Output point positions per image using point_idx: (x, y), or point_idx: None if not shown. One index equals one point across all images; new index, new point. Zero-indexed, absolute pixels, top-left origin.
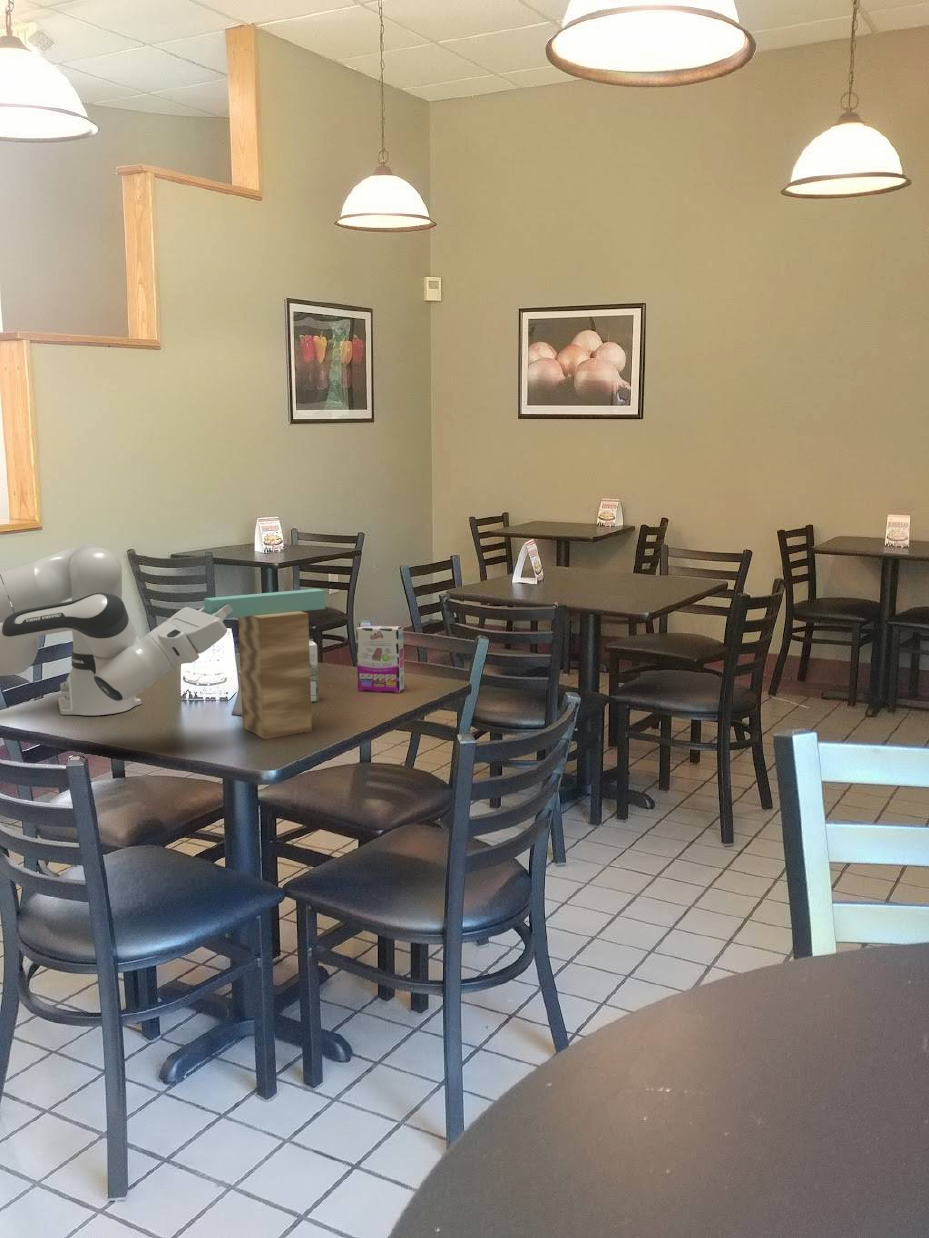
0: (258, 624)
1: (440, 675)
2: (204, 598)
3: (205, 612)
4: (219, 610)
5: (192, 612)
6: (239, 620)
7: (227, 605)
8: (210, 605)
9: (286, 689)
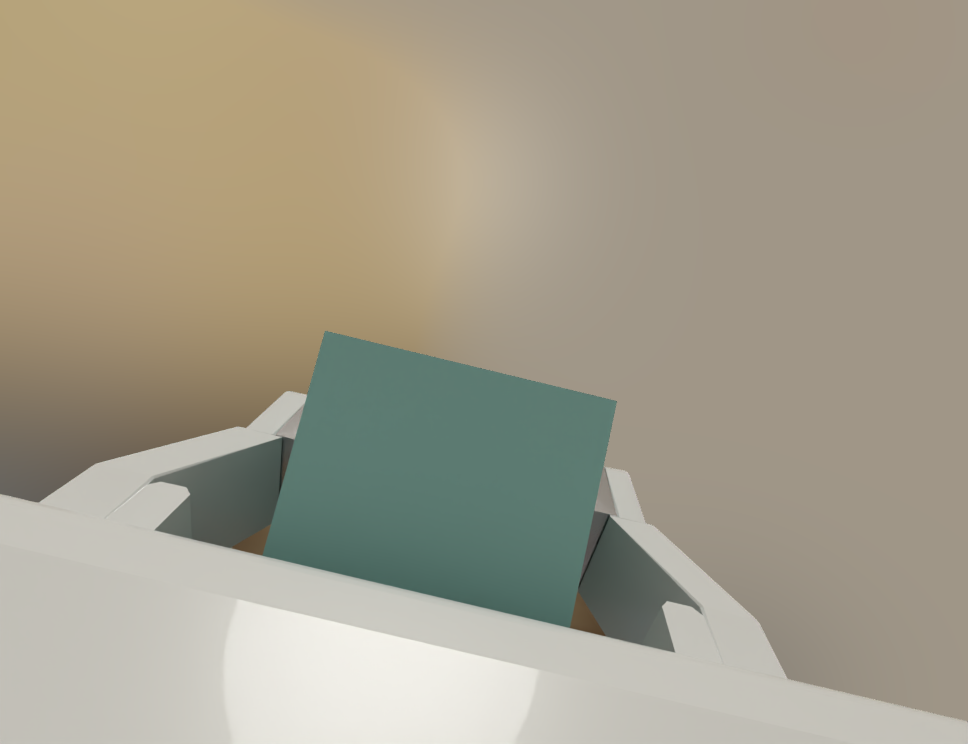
0: (583, 606)
1: None
2: (338, 334)
3: (300, 562)
4: (666, 553)
5: (1, 600)
6: (252, 546)
7: (627, 480)
8: (566, 473)
9: None
